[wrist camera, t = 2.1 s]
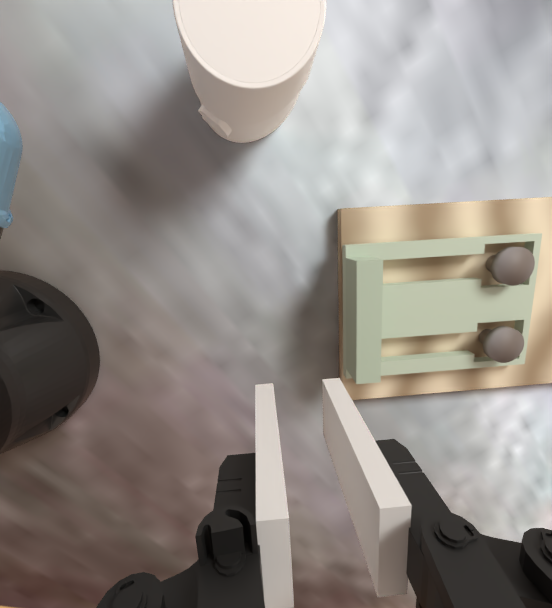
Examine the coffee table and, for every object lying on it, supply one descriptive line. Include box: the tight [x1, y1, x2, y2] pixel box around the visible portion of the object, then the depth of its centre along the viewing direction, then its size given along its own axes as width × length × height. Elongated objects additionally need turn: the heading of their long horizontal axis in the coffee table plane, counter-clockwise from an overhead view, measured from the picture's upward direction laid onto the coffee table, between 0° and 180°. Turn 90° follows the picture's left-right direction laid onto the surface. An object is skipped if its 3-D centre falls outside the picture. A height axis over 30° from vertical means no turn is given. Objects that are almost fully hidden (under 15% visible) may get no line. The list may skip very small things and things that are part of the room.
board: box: [338, 197, 552, 400], centre depth 29 cm, size 28×18×4 cm, turn 93°
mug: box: [173, 0, 326, 143], centre depth 21 cm, size 12×9×8 cm
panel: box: [342, 233, 542, 384], centre depth 27 cm, size 17×12×4 cm
